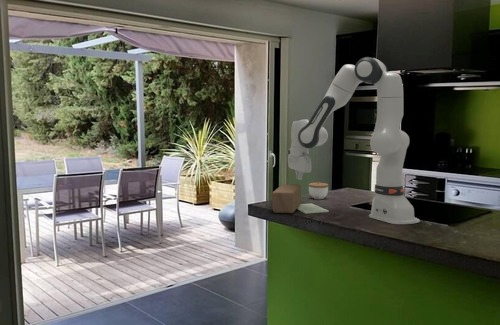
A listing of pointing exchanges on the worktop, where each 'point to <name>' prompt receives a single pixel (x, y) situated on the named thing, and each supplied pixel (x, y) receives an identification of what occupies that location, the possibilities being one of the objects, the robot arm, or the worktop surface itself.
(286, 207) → the wooden block
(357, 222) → the worktop surface
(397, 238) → the worktop surface
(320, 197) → the lidded jar
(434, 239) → the worktop surface
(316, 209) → the mat
